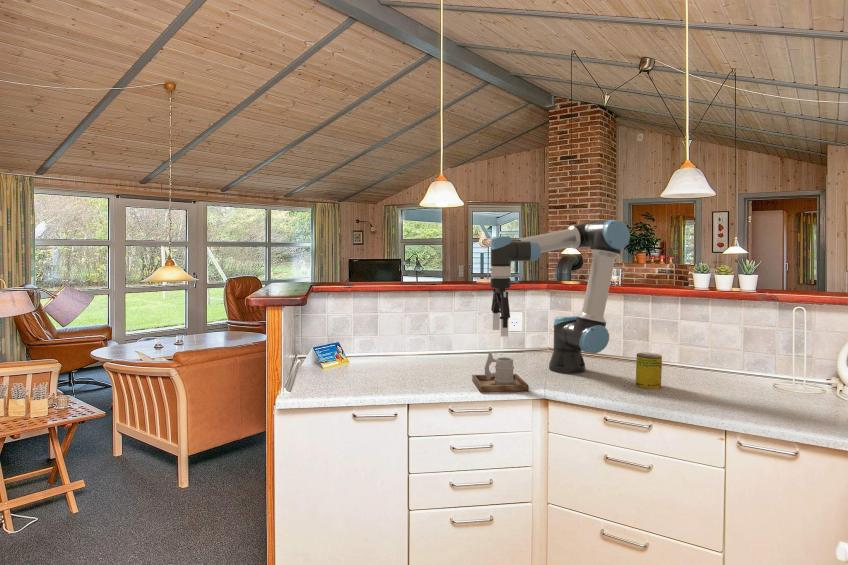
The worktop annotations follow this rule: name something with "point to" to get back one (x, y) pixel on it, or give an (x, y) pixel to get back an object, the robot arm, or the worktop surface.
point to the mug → (500, 370)
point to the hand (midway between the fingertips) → (500, 333)
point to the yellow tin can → (648, 370)
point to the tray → (490, 386)
